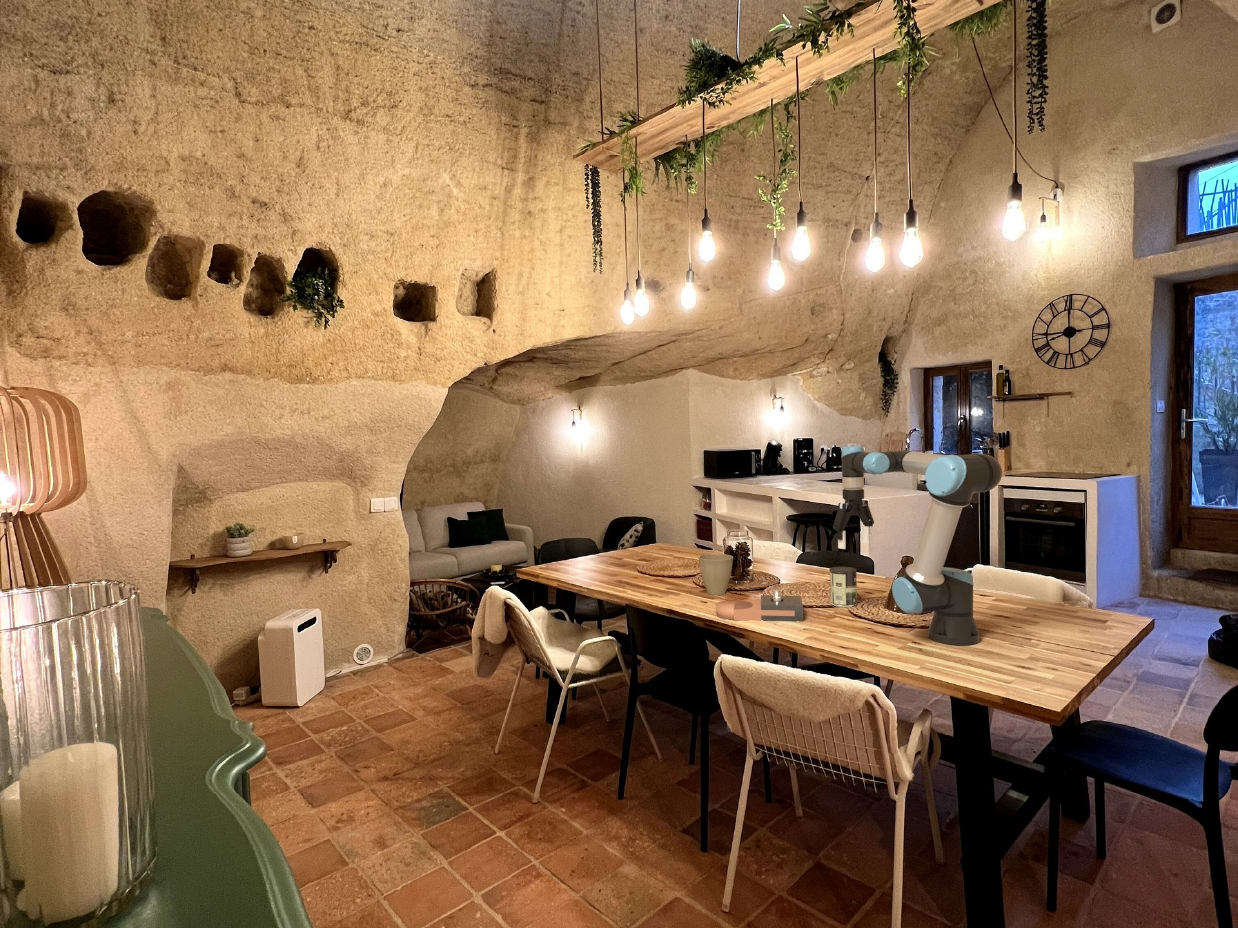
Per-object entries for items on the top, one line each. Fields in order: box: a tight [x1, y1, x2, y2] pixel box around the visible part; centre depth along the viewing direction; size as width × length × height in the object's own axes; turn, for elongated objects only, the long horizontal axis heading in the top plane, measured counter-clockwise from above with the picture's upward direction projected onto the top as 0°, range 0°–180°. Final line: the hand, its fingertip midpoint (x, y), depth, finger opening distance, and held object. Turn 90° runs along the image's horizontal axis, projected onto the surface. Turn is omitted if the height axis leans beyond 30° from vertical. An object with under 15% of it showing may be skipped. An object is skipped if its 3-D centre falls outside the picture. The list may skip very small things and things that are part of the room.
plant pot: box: [698, 553, 734, 596], centre depth 299 cm, size 15×15×16 cm
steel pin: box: [772, 588, 782, 602], centre depth 261 cm, size 3×3×10 cm
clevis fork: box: [760, 594, 804, 623], centre depth 261 cm, size 14×15×6 cm
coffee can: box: [829, 566, 858, 608], centre depth 274 cm, size 10×10×14 cm
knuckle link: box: [715, 599, 795, 622], centre depth 263 cm, size 14×29×4 cm, turn 78°
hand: (854, 546), depth 253 cm, fingers open, 13 cm apart
